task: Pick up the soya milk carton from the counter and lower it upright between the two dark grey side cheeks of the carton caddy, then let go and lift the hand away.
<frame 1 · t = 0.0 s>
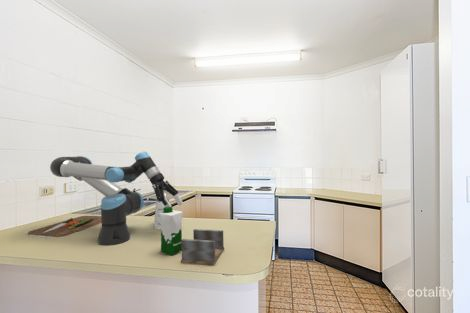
hand: (176, 207, 135), 15 cm above the counter, tool tilted 35°, fingers open, 13 cm apart
chopping board: (74, 226, 157), on the counter
carton caddy: (203, 255, 107), on the counter
grater: (163, 226, 153), on the counter
soya milk: (172, 251, 112), on the counter
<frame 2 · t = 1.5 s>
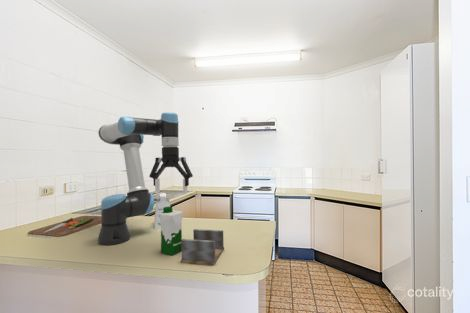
hand: (171, 193, 112), 27 cm above the counter, tool pointing down, fingers open, 13 cm apart
nothing on the counter moved.
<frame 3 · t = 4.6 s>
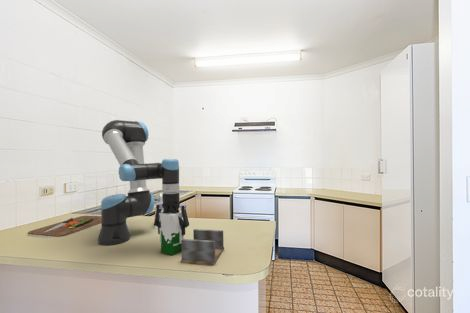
hand: (171, 241, 112), 4 cm above the counter, tool pointing down, fingers closed on soya milk, 9 cm apart
soya milk: (172, 251, 112), on the counter, touching gripper
everything else where it was.
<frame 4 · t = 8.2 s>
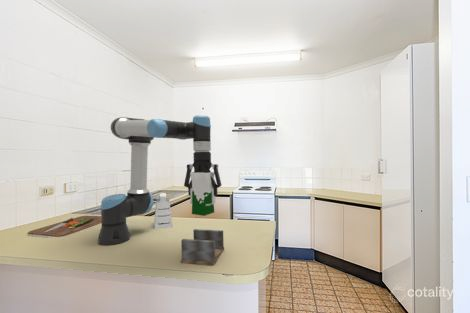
hand: (202, 203, 106), 23 cm above the counter, tool pointing down, fingers closed on soya milk, 9 cm apart
soya milk: (203, 213, 106), point 18 cm above the counter, touching gripper
everything else where it was.
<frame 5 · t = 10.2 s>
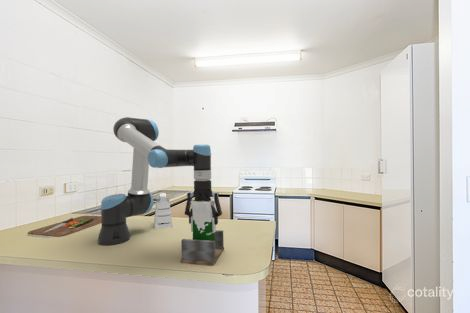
hand: (203, 231, 106), 11 cm above the counter, tool pointing down, fingers closed on soya milk, 9 cm apart
soya milk: (203, 242, 106), point 6 cm above the counter, touching gripper
everything else where it was.
when the fingers open (7 cm above the counter, at t = 11.9 s): soya milk drops 2 cm, resting on carton caddy.
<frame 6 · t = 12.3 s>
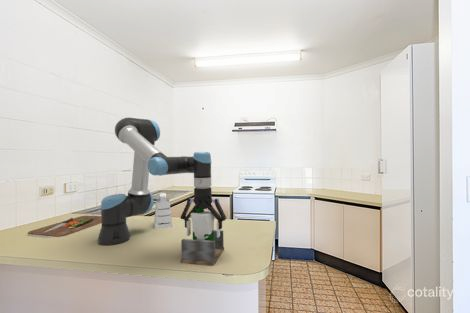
hand: (203, 235, 107), 9 cm above the counter, tool pointing down, fingers open, 13 cm apart
soya milk: (203, 253, 107), point 1 cm above the counter, touching carton caddy
everything else where it was.
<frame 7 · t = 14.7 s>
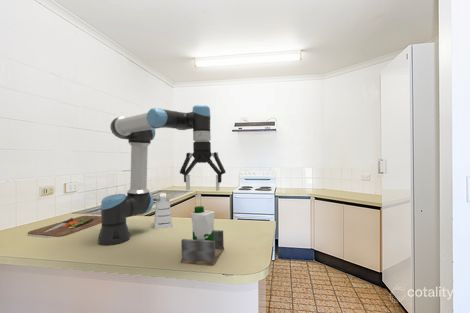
hand: (202, 190, 106), 29 cm above the counter, tool pointing down, fingers open, 13 cm apart
nothing on the counter moved.
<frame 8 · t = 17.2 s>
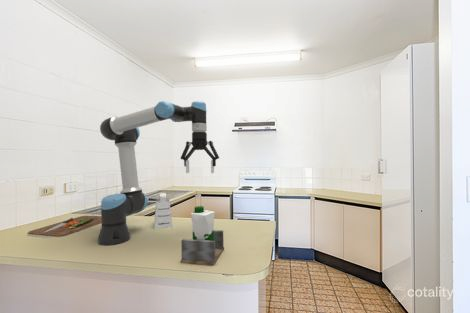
hand: (200, 172, 126), 35 cm above the counter, tool pointing down, fingers open, 13 cm apart
nothing on the counter moved.
at the end: soya milk 0.1 cm off-centre on the carton caddy, point 0.8 cm above the carton caddy's base; soya milk tilted 0°; the gripper is holding nothing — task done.
